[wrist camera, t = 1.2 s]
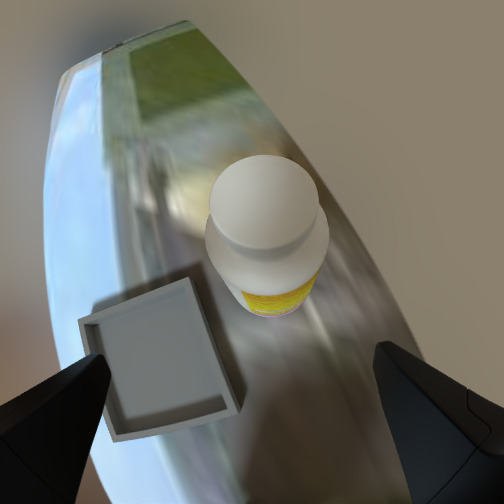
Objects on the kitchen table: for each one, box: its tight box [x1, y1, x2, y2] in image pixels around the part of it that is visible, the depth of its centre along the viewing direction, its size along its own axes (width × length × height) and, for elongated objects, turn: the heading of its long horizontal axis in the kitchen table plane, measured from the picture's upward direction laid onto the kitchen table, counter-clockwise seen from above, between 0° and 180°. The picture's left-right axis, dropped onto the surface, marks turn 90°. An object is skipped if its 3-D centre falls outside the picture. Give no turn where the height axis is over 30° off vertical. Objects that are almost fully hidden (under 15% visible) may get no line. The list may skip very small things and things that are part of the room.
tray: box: [78, 277, 241, 443], centre depth 22 cm, size 11×11×2 cm
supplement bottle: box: [205, 155, 329, 317], centre depth 18 cm, size 7×7×13 cm
